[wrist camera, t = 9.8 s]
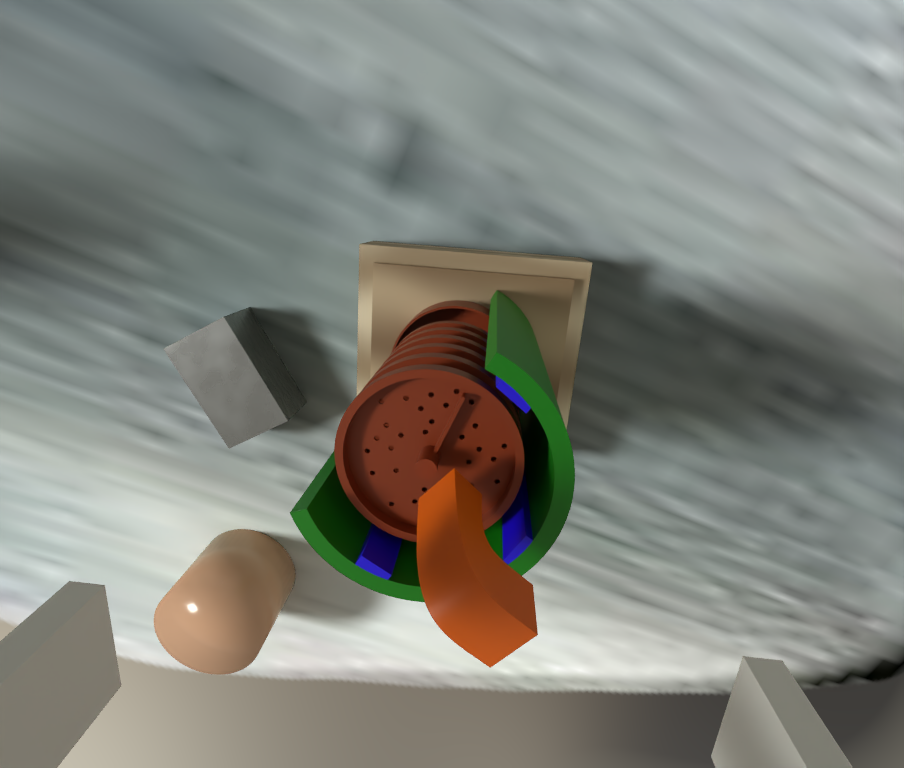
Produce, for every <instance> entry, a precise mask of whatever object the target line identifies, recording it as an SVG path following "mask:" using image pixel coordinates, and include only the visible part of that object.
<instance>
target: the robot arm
mask: <svg viewBox="0 0 904 768" xmlns="http://www.w3.org/2000/svg"><path fill="white" fill-rule="evenodd" d="M120 687H121V681H120V675H119V669H118V663H117V657H116V651H115V645H114V639H113V633H112V627H111V621H110V615H109V608H108V602H107V596H106V590H105V585H99V584H90V583H81V582H72V581H69V582H68V583H67V584H66V585H64V586H63V587H62V588H61V589H60V590H59V591H58V592H56V593H55V594H54V595H53V596H52V597H51V598H50V599H48V600H47V601H46V602H45V603H44V604H43V605H41V606H40V607H39V608H38V609H37V610H36V611H35V612H33V613H32V614H31V615H30V616H29V617H28V618H27V619H25V620H24V621H23V622H22V623H21V624H20V625H18V626H17V627H16V628H15V629H14V630H13V631H12V632H11V633H9V634H8V635H7V636H6V637H5V638H4V639H2V640H1V641H0V768H57V767H58V766H59V765H60V763H61V762H62V761H63V759H64V758H65V757H66V756H67V754H68V753H69V752H70V750H71V749H72V748H73V747H74V745H75V744H76V743H77V742H78V740H79V739H80V738H81V736H82V735H83V734H84V733H85V731H86V730H87V729H88V728H89V726H90V725H91V724H92V722H93V721H94V720H95V719H96V717H97V716H98V715H99V713H100V712H101V711H102V710H103V708H104V707H105V706H106V705H107V703H108V702H109V700H110V699H111V698H112V697H113V696H114V694H115V693H116V692H117V691H118V689H119V688H120ZM711 757H712V760H713V762H714V765H715V767H716V768H853V767H852V766H851V764H850V763H849V761H848V760H847V758H846V757H845V755H844V754H843V752H842V751H841V749H840V747H839V746H838V744H837V743H836V741H835V740H834V739H833V737H832V735H831V734H830V732H829V731H828V729H827V728H826V726H825V725H824V723H823V722H822V720H821V719H820V717H819V716H818V714H817V713H816V711H815V710H814V708H813V706H812V705H811V703H810V702H809V700H808V699H807V697H806V696H805V694H804V693H803V691H802V690H801V688H800V687H799V685H798V684H797V682H796V681H795V679H794V678H793V676H792V674H791V673H790V671H789V670H788V668H787V667H786V665H785V664H784V662H783V661H781V660H772V659H763V658H754V657H745V656H743V658H742V661H741V664H740V667H739V671H738V674H737V677H736V680H735V683H734V686H733V689H732V693H731V696H730V699H729V702H728V705H727V708H726V711H725V714H724V718H723V721H722V724H721V727H720V730H719V733H718V737H717V740H716V743H715V746H714V749H713V752H712V755H711Z"/></svg>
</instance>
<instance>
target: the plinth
mask: <svg viewBox="0 0 904 768" xmlns="http://www.w3.org/2000/svg"><path fill="white" fill-rule="evenodd" d="M591 269H592V263H591V262H589V261H587V260H585V259H583V258H577V257H565V256H553V255H540V254H528V253H515V252H503V251H491V250H478V249H466V248H454V247H441V246H429V245H416V244H404V243H392V242H379V241H371V242H367V243H362V244H359V301H358V358H357V396H358V394H359V393H360V392H361V391H362V389H363V388H364V387H365V386H366V384H367V383H368V382H369V381H370V379H371V378H372V377H373V376H374V374H375V373H376V372H377V371H378V369H379V368H380V367H381V366H382V364H383V363H384V362H385V361H386V359H387V358H388V357H389V356H390V354H391V353H392V349H393V346H394V344H395V342H396V340H397V338H398V336H399V334H400V333H401V332H402V330H403V329H404V328H405V327H406V326H407V324H408V323H409V322H410V321H411V320H412V319H413V318H414V317H415V316H416V315H417V314H418V313H420V312H421V311H422V310H424V309H426V308H427V307H429V306H431V305H434V304H437V303H440V302H444V301H451V300H462V301H469V302H473V303H476V304H479V305H482V306H484V307H486V308H488V309H489V310H490V301H491V298H492V296H493V295H494V293H495V292H496V290H498V291H500V292H501V293H503V294H504V295H506V296H507V297H508V298H510V299H511V300H512V301H513V302H514V303H515V304H516V305H517V306H518V307H519V308H520V309H521V311H522V312H523V313H524V315H525V316H526V317H527V319H528V321H529V323H530V325H531V327H532V329H533V331H534V334H535V337H536V340H537V343H538V346H539V349H540V352H541V355H542V358H543V361H544V364H545V367H546V370H547V373H548V376H549V379H550V382H551V385H552V388H553V391H554V394H555V397H556V400H557V403H558V406H559V409H560V412H561V415H562V418H563V421H564V424H565V427H566V430H567V424H568V417H569V411H570V404H571V398H572V391H573V385H574V379H575V372H576V366H577V359H578V353H579V346H580V340H581V333H582V327H583V321H584V314H585V308H586V301H587V295H588V288H589V282H590V276H591Z"/></svg>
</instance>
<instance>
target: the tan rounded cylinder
mask: <svg viewBox="0 0 904 768" xmlns="http://www.w3.org/2000/svg"><path fill="white" fill-rule="evenodd" d="M294 583H295V568H294V564H293V562H292V559H291V557H290V556H289V554H288V553H287V551H286V550H285V549H284V548H283V547H282V546H281V545H280V544H279V543H278V542H277V541H275V540H274V539H272V538H271V537H269V536H267V535H265V534H263V533H260V532H257V531H253V530H247V529H237V530H231V531H227V532H224V533H222V534H220V535H219V536H217V537H216V538H214V539H213V540H212V541H211V543H210V544H209V545H208V546H207V547H206V548H205V550H204V551H203V552H202V553H201V554H200V555H199V557H198V558H197V559H196V560H195V561H194V562H193V564H192V565H191V566H190V567H189V568H188V569H187V571H186V572H185V573H184V574H183V575H182V576H181V578H180V579H179V580H178V581H177V582H176V583H175V585H174V586H173V587H172V588H171V589H170V591H169V592H168V593H167V594H166V595H165V596H164V598H163V599H162V600H161V601H160V603H159V604H158V606H157V608H156V611H155V614H154V627H155V632H156V634H157V637H158V639H159V641H160V643H161V644H162V646H163V647H164V648H165V650H166V651H167V652H168V653H169V654H170V655H171V656H172V657H173V658H175V659H176V660H177V661H179V662H180V663H182V664H183V665H185V666H187V667H189V668H191V669H194V670H196V671H200V672H203V673H209V674H229V673H234V672H237V671H239V670H242V669H244V668H245V667H247V666H248V665H249V664H251V663H252V662H253V661H254V659H255V658H256V656H257V655H258V653H259V651H260V649H261V647H262V645H263V644H264V642H265V640H266V638H267V636H268V634H269V632H270V630H271V628H272V627H273V625H274V623H275V621H276V619H277V617H278V615H279V613H280V611H281V610H282V608H283V606H284V604H285V602H286V600H287V598H288V596H289V594H290V593H291V591H292V589H293V586H294Z"/></svg>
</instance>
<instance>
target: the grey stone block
mask: <svg viewBox="0 0 904 768" xmlns="http://www.w3.org/2000/svg"><path fill="white" fill-rule="evenodd" d="M164 351H165V352H166V354H167V355H168V357H169V358H170V360H171V361H172V363H173V364H174V366H175V367H176V369H177V370H178V372H179V373H180V375H181V376H182V378H183V380H184V381H185V383H186V384H187V386H188V387H189V389H190V390H191V392H192V393H193V395H194V396H195V398H196V399H197V401H198V402H199V404H200V405H201V407H202V408H203V410H204V411H205V413H206V414H207V416H208V417H209V419H210V420H211V422H212V423H213V425H214V426H215V428H216V429H217V431H218V433H219V434H220V436H221V437H222V439H223V440H224V442H225V443H226V445H227V446H228V448H231V447H233V446H236V445H238V444H240V443H242V442H244V441H246V440H248V439H251V438H253V437H255V436H257V435H259V434H261V433H263V432H265V431H268V430H270V429H272V428H274V427H276V426H278V425H280V424H283V423H285V422H287V421H288V420H289V419H290V418H291V417H292V416H293V415H294V414H295V413H296V412H297V411H298V410H299V409H300V408H301V407H302V406H303V405H304V404H305V403H306V400H305V399H304V397H303V395H302V394H301V392H300V390H299V389H298V387H297V385H296V384H295V382H294V380H293V379H292V377H291V375H290V374H289V372H288V370H287V369H286V367H285V365H284V364H283V362H282V360H281V359H280V357H279V355H278V354H277V352H276V350H275V349H274V347H273V345H272V344H271V342H270V340H269V339H268V337H267V335H266V334H265V332H264V330H263V329H262V327H261V325H260V324H259V322H258V320H257V319H256V317H255V315H254V314H253V312H252V310H251V309H250V307H249V308H246V309H243V310H241V311H238V312H235V313H233V314H230V315H227V316H225V317H222V318H221V319H219V320H217V321H215V322H213V323H211V324H209V325H207V326H206V327H204V328H202V329H200V330H198V331H196V332H194V333H192V334H191V335H189V336H187V337H185V338H183V339H181V340H179V341H177V342H175V343H174V344H172V345H170V346H168V347H166V348H164Z"/></svg>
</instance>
